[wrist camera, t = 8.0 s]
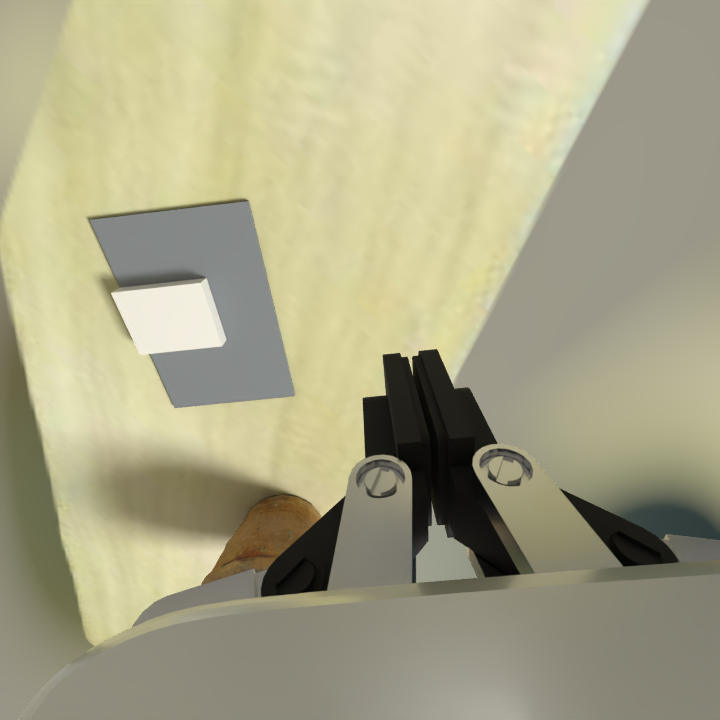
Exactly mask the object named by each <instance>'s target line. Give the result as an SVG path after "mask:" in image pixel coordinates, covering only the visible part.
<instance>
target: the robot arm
mask: <svg viewBox="0 0 720 720" xmlns="http://www.w3.org/2000/svg"><path fill="white" fill-rule="evenodd" d="M383 364H384V376H385V388H386V396H376V397H365V398H363V415H364V437H365V459H363V460H362V461H360V462H359V463H357V464H356V466H355V467H354V468H353V469H352V471H351V474H350V476H349V481H348V486H347V491H346V496H345V497H344V498H342V499H341V500H340V501H339V502H338V503H337V504H336V505H335V506H334V507H333V508H331V509H330V510H329V511H328V512H327V513H326V514H325V515H324V516H323V517H322V518H320V519H319V520H318V521H317V522H316V523H315V524H314V525H313V526H312V527H310V528H309V529H308V530H307V531H306V532H305V533H304V534H303V535H302V536H301V537H299V538H298V539H297V540H296V541H295V542H294V543H293V544H292V545H291V546H290V547H288V548H287V549H286V550H285V551H284V552H283V553H282V554H281V555H280V556H278V557H277V558H276V559H275V561H274V562H273V563H272V564H271V565H270V566H269V568H268V569H267V570H264V571H261V572H258V573H256V572H255V570H254V569H251V570H248V571H245V572H241V573H238V574H235V575H232V576H229V577H226V578H223V579H219V580H216V581H213V582H210V583H207V584H204V585H200V586H197V587H194V588H191V589H188V590H185V591H181V592H178V593H175V594H172V595H169V596H166V597H164V598H162V599H160V600H158V601H156V602H154V603H153V604H152V605H151V606H149V607H148V608H147V609H146V610H145V611H144V612H142V614H141V615H140V616H139V618H138V619H137V620H136V622H135V623H134V624H133V626H132V628H129V629H127V630H125V631H123V632H121V633H119V634H117V635H115V636H113V637H111V638H109V639H107V640H105V641H103V642H102V643H100V644H98V645H96V646H95V647H93V648H91V649H90V650H88V651H87V652H85V653H84V654H82V655H81V656H79V657H78V658H76V659H75V660H73V661H72V662H71V663H69V664H68V665H67V666H66V667H64V668H63V669H62V670H61V671H60V672H58V673H57V674H56V675H55V676H54V677H53V678H52V679H51V680H50V681H49V682H48V683H47V684H46V685H45V686H44V687H43V688H42V689H41V690H40V691H39V692H38V693H37V695H36V696H35V697H34V698H33V699H32V701H31V702H30V703H29V704H28V705H27V707H26V708H25V709H24V711H23V712H22V713H21V714H20V716H19V717H18V718H17V720H720V541H719V540H711V539H702V538H694V537H693V538H692V537H685V536H676V535H668V534H667V535H666V536H665V538H664V539H659V538H658V537H657V536H656V535H654V534H652V533H651V532H649V531H647V530H645V529H644V528H642V527H640V526H638V525H635V524H633V523H631V522H629V521H627V520H625V519H623V518H621V517H619V516H617V515H615V514H612V513H610V512H608V511H606V510H604V509H602V508H600V507H598V506H595V505H593V504H591V503H589V502H587V501H585V500H583V499H580V498H579V497H576V496H574V495H572V494H570V493H568V492H566V491H564V490H562V489H559V488H558V487H557V486H556V484H555V483H554V482H553V481H552V479H551V478H550V477H549V476H548V475H547V473H546V472H545V471H544V470H543V468H542V467H541V466H540V465H539V464H538V462H537V461H536V460H535V459H534V458H533V457H532V456H531V455H530V454H529V453H527V452H525V451H523V450H522V449H520V448H517V447H514V446H511V445H505V444H497V442H496V440H495V438H494V436H493V434H492V432H491V430H490V428H489V426H488V424H487V422H486V420H485V418H484V416H483V414H482V412H481V410H480V408H479V406H478V404H477V402H476V400H475V398H474V397H473V394H472V392H471V390H470V389H469V388H457V389H454V387H453V384H452V382H451V380H450V378H449V375H448V373H447V371H446V368H445V366H444V364H443V362H442V359H441V357H440V355H439V352H438V350H437V349H434V350H424V351H419V353H418V356H413V357H412V364H413V375H412V371H411V367H410V364H409V360H408V357H401V354H400V353H395V354H385V355H383ZM431 500H432V504H433V509H434V513H435V517H436V522H437V525H445V529H446V533H447V537H448V538H449V537H454V538H455V539H456V540H457V541H459V542H460V543H462V544H463V545H465V546H466V547H467V553H468V556H469V560H470V562H471V564H472V566H473V568H474V571H475V573H476V575H477V577H478V578H473V579H461V580H449V581H436V582H424V583H416V555H417V554H418V553H419V551H420V550H421V549H422V548H423V547H424V545H425V544H426V542H428V526H431V525H432V507H431Z"/></svg>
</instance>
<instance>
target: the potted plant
mask: <svg viewBox="0 0 720 720" xmlns="http://www.w3.org/2000/svg"><path fill="white" fill-rule="evenodd" d="M320 518H321V515H320V513H319V512H318V511H317V510H316V509H315V507H313V506H312V505H311V504H309V503H308V502H307V501H305V500H303V499H301V498H299V497H295V496H289V495H278V496H274V497H270V498H267V499H264V500H262V501H260V502H258V503H257V504H256V505H255V506H254V507H252V508H251V510H250V511H249V513H248V515H247V516H246V518H245V520H244V521H243V523H242V524H241V526H240V527H239V529H238V530H237V532H236V533H235V534H234V536H233V537H232V538H231V539H230V540H229V541H228V542H227V544H226V547H225V550H224V551H223V553H222V554H221V556H220V558H219V560H218V561H217V563H216V565H215V567H214V568H213V570H212V572H211V573H209V574H208V575H207V576H206V577H205V579H204V581H203V582H202V584H201V585H204V584H207V583H210V582H213V581H216V580H219V579H223V578H226V577H229V576H232V575H235V574H238V573H241V572H245V571H248V570H251V569H254V570H255V572H256V573H258V572H261V571H264V570H267V569H268V568H269V566H270V565H271V564H272V563H273V562H274V561H275V559H276V558H277V557H278V556H280V555H281V554H282V553H283V552H284V551H285V550H286V549H287V548H288V547H290V546H291V545H292V544H293V543H294V542H295V541H296V540H297V539H298V538H299V537H301V536H302V535H303V534H304V533H305V532H306V531H307V530H308V529H309V528H310V527H312V526H313V525H314V524H315V523H316V522H317V521H318V520H319V519H320Z"/></svg>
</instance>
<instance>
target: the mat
mask: <svg viewBox="0 0 720 720" xmlns="http://www.w3.org/2000/svg"><path fill="white" fill-rule="evenodd" d="M90 223H91V225H92V227H93V229H94V231H95V234H96V236H97V238H98V240H99V242H100V245H101V247H102V249H103V251H104V253H105V256H106V258H107V260H108V262H109V264H110V267H111V269H112V271H113V273H114V275H115V278H116V280H117V282H118V284H119V286H120V288H121V287H130V286H139V285H148V284H157V283H165V282H174V281H183V280H192V279H201V278H207V281H208V284H209V287H210V290H211V293H212V296H213V299H214V303H215V306H216V309H217V312H218V315H219V318H220V321H221V324H222V327H223V330H224V333H225V336H226V339H227V340H226V341H225V343H224V344H223V346H221V347H211V348H202V349H192V350H183V351H173V352H164V353H154V354H150V355H151V357H152V359H153V361H154V364H155V366H156V368H157V370H158V372H159V375H160V377H161V379H162V381H163V384H164V386H165V388H166V390H167V392H168V395H169V397H170V399H171V401H172V403H173V406H174V408H180V407H190V406H200V405H210V404H220V403H230V402H240V401H251V400H261V399H271V398H281V397H291V396H295V392H294V388H293V383H292V379H291V375H290V371H289V367H288V362H287V358H286V354H285V350H284V346H283V342H282V337H281V333H280V329H279V325H278V321H277V316H276V312H275V308H274V304H273V300H272V296H271V291H270V287H269V283H268V279H267V275H266V270H265V266H264V262H263V258H262V254H261V250H260V245H259V241H258V237H257V233H256V229H255V224H254V220H253V216H252V212H251V208H250V204H249V201H242V202H234V203H226V204H217V205H209V206H200V207H192V208H184V209H175V210H167V211H158V212H150V213H142V214H133V215H125V216H116V217H108V218H100V219H92V220H90Z"/></svg>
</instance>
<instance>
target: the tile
mask: <svg viewBox="0 0 720 720" xmlns="http://www.w3.org/2000/svg"><path fill="white" fill-rule="evenodd" d="M111 295H112V297H113V299H114V301H115V303H116V305H117V307H118V309H119V312H120V314H121V316H122V318H123V320H124V322H125V324H126V326H127V329H128V331H129V333H130V335H131V337H132V339H133V341H134V343H135V346H136V348H137V350H138V352H139V354H140V355H145V354H154V353H164V352H173V351H183V350H192V349H202V348H211V347H221V346H223V344H224V343H225V341H226V340H227V339H226V336H225V333H224V330H223V327H222V324H221V321H220V318H219V315H218V312H217V309H216V306H215V303H214V299H213V296H212V293H211V290H210V287H209V284H208V281H207V278H201V279H192V280H183V281H174V282H165V283H157V284H148V285H139V286H130V287H121V288H118V289H117V290H115V291H113V292H111Z"/></svg>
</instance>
